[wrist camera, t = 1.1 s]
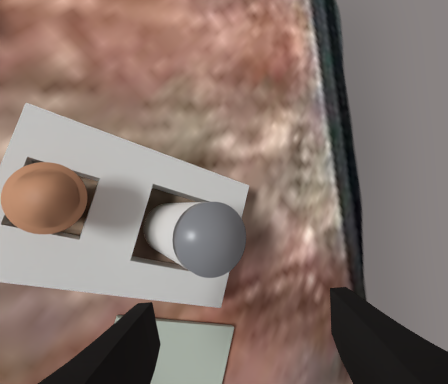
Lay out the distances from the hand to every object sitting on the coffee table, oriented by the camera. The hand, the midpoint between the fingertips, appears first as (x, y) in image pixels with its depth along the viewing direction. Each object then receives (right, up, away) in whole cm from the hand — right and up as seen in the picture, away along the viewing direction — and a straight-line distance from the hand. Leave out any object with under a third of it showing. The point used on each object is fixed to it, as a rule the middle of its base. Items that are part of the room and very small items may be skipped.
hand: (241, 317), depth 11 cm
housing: (-8, +3, +10) cm, 13 cm away
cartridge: (-5, +2, +11) cm, 12 cm away
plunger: (-11, +5, +6) cm, 13 cm away
